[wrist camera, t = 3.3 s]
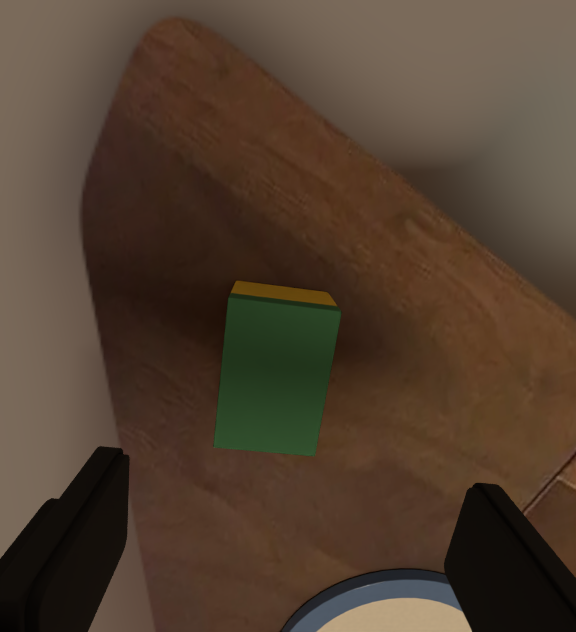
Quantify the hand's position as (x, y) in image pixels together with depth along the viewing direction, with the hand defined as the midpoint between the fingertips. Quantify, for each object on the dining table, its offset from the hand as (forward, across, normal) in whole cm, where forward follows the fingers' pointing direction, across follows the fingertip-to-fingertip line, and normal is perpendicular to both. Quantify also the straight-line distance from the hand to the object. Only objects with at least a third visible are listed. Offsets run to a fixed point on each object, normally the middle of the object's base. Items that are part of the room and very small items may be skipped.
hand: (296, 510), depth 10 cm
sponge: (+11, +1, 0) cm, 11 cm away
